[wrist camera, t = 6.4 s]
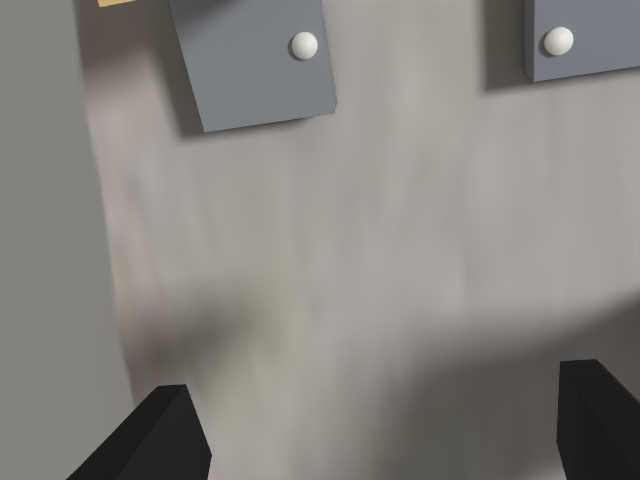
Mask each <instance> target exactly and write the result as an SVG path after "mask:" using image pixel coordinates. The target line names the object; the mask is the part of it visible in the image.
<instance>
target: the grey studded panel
mask: <svg viewBox="0 0 640 480" xmlns="http://www.w3.org/2000/svg"><path fill="white" fill-rule="evenodd" d="M637 66H640V0H524V73H525V74H526V75H527V76H528V77H530V78H531V79H532V80H533V81H534V82H536V81H543V80H549V79H556V78H563V77H569V76H576V75H583V74H590V73H596V72H603V71H610V70H617V69H623V68H630V67H637Z"/></svg>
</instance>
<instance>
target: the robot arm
mask: <svg viewBox="0 0 640 480" xmlns="http://www.w3.org/2000/svg"><path fill="white" fill-rule="evenodd" d="M557 445H558V449H559V453H560V456H561V460H562V464H563V468H564V471H565V475H566V478H567V480H640V402H639V401H638V400H637V399H636V398H635V397H634V396H633V395H632V394H631V393H630V392H629V391H628V390H627V389H626V388H625V387H624V386H623V385H622V384H621V383H620V382H619V381H618V380H617V379H616V378H615V377H614V376H613V375H612V374H611V373H610V372H609V371H608V370H607V369H606V368H605V367H604V366H603V365H602V364H601V363H600V362H599V361H598V360H596V359H591V360H575V361H560V376H559V398H558V420H557ZM211 457H212V454H211V451H210V448H209V446H208V443H207V440H206V438H205V435H204V432H203V429H202V427H201V424H200V421H199V419H198V416H197V413H196V410H195V408H194V405H193V402H192V400H191V397H190V394H189V391H188V389H187V386H186V384H184V385H167V386H158V387H157V388H155V389H154V390H153V391H152V392H151V393H150V394H149V395H148V396H147V397H146V398H145V399H144V400H143V401H142V402H141V403H140V405H139V406H138V407H137V408H136V409H135V410H134V411H133V412H132V413H131V414H130V415H129V416H128V417H127V418H126V419H125V420H124V421H123V422H122V423H121V424H120V425H119V427H118V428H117V429H116V430H115V431H114V432H113V433H112V434H111V435H110V436H109V437H108V438H107V439H106V440H105V441H104V442H103V443H102V444H101V445H100V446H99V447H98V448H97V449H96V450H95V451H94V452H93V453H92V454H91V455H90V456H89V457H88V458H87V460H86V461H84V462H83V464H82V465H81V466H80V467H79V468H78V469H77V470H76V471H75V472H74V473H73V474H71V475H70V476H69V477H68V478H67V479H66V480H207V479H208V473H209V468H210V462H211Z"/></svg>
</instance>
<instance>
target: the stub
mask: <svg viewBox="0 0 640 480" xmlns="http://www.w3.org/2000/svg"><path fill="white" fill-rule="evenodd" d="M129 1H134V0H98V3H99V6H100V7H103V6H109V5H114V4H119V3H124V2H129ZM168 3H169V7H170V11H171V14H172V18H173V21H174V25H175V29H176V32H177V36H178V39H179V43H180V46H181V50H182V54H183V57H184V61H185V64H186V68H187V71H188V75H189V79H190V82H191V86H192V89H193V93H194V96H195V100H196V104H197V107H198V111H199V114H200V118H201V121H202V125H203V129H204V132H211V131H218V130H225V129H231V128H238V127H245V126H252V125H258V124H265V123H272V122H279V121H285V120H292V119H299V118H306V117H312V116H319V115H326V114H333V113H335V109H336V105H337V98H336V92H335V85H334V79H333V73H332V67H331V61H330V54H329V48H328V42H327V36H326V29H325V23H324V17H323V11H322V5H321V0H168Z"/></svg>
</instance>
